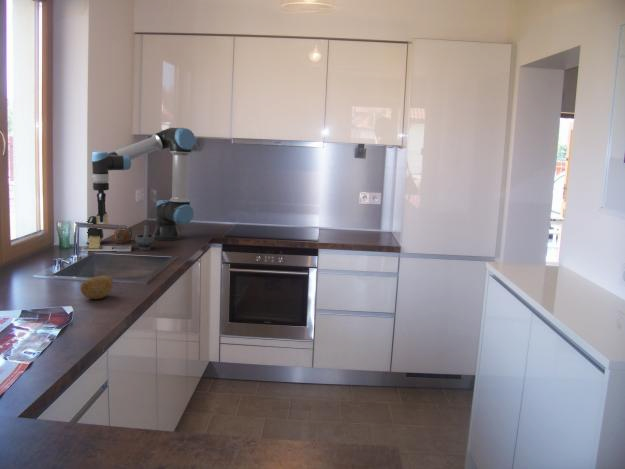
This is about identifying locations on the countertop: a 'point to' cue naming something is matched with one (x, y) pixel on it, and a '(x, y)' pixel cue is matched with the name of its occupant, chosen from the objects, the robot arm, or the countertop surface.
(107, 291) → the potato
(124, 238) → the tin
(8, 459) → the countertop surface
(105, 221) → the nut block
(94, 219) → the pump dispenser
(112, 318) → the countertop surface
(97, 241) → the pale yellow block
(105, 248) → the rack rail
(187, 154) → the robot arm
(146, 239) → the mortar and pestle
